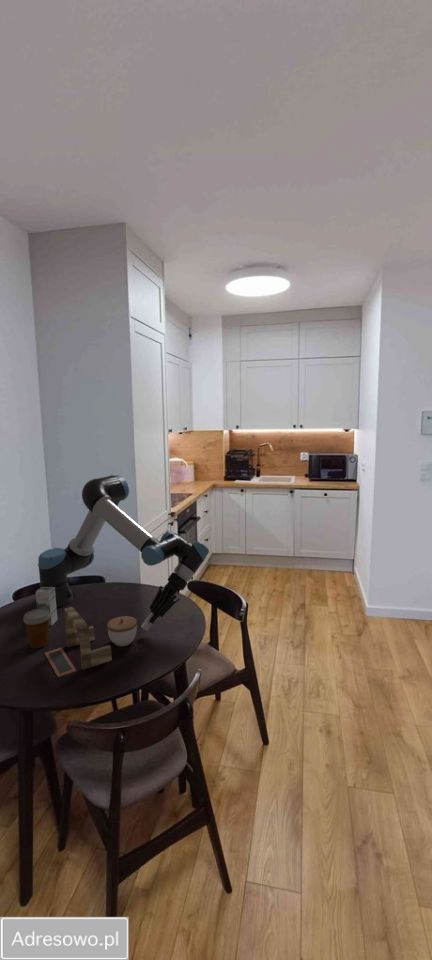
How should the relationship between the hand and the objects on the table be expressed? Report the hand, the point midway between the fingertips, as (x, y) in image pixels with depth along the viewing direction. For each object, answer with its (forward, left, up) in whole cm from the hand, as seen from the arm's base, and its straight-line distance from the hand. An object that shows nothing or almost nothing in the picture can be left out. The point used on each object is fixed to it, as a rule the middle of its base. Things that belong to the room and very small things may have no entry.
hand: (143, 628), depth 171 cm
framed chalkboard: (0, -31, -3) cm, 31 cm away
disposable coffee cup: (-17, -34, -3) cm, 39 cm away
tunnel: (0, -21, -3) cm, 22 cm away
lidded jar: (0, -8, -3) cm, 9 cm away
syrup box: (-33, -27, -3) cm, 43 cm away
